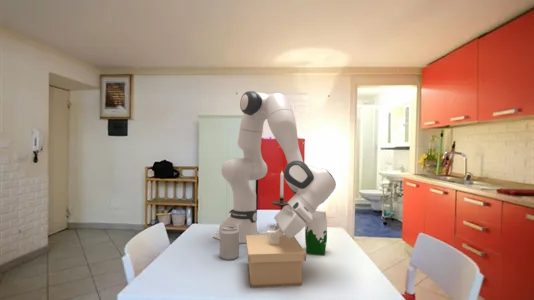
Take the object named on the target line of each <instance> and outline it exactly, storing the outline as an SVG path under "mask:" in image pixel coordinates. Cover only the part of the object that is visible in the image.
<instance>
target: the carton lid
mask: <svg viewBox="0 0 534 300" xmlns="http://www.w3.org/2000/svg"><path fill="white" fill-rule="evenodd" d="M275 232H276V231H272V230H267V231H266V234H258V235H246V243H245V245H246V246H245V247H246V252H247V253H246V254H247V262H248V263H258V262H288V261H302V262H306V261H307V251H305V250H304V248H303V247H302V245H301V244H300V242H299V241H298V240H297V238H296V237H295V236H294V237H292V238H290V239H289V238H288V237H287V236H286V235H285V234H283V235H282V236H280V237H278V238H277V239H276V240H275V241H273V240H272V239H271V235H272V234H273V233H275Z"/></svg>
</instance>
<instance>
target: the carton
mask: <svg viewBox="0 0 534 300" xmlns="http://www.w3.org/2000/svg"><path fill="white" fill-rule="evenodd" d="M247 266H248V273H249V274H248V276H249V283H250V285H249V286H250V288H251V287H256V288H273V287H275V288H276V287H296V286H297V287H298V286H299V287H300V286H301V287H302V286H303V261H288V262H258V263H248V265H247Z"/></svg>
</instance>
